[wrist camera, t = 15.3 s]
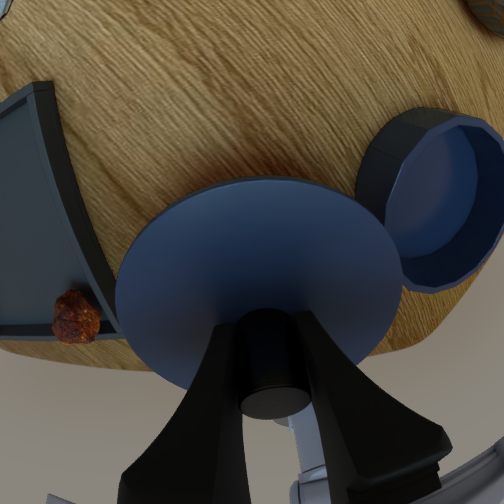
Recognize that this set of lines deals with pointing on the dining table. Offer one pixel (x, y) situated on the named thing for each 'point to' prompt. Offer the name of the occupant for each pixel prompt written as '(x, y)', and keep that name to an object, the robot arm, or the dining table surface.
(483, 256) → the tin
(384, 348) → the dining table surface
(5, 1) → the donut
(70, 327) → the meatball
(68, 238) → the tray
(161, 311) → the tin lid
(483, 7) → the vase
